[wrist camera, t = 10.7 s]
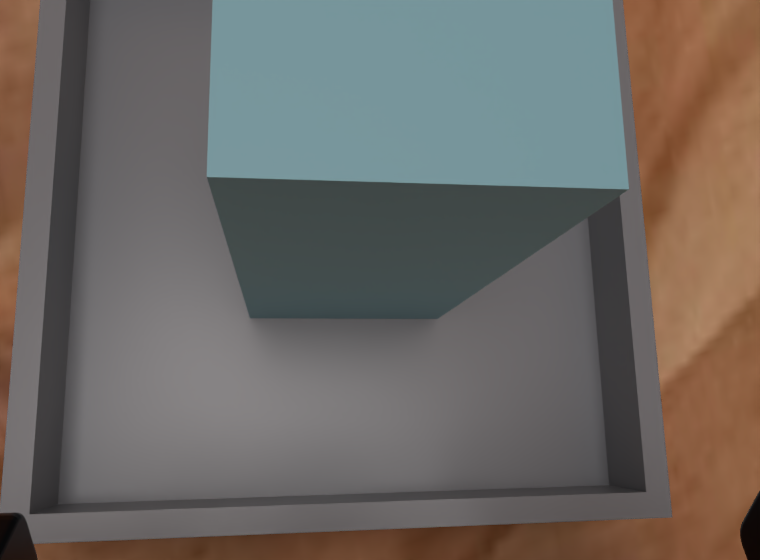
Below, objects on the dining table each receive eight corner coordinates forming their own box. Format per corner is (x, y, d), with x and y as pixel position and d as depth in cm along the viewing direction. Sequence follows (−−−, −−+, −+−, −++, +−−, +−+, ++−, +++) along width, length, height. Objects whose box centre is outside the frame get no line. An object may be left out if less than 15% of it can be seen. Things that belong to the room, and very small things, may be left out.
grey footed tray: (588, 497, 22) (672, 517, 17) (64, 516, 20) (-3, 545, 15) (554, 40, 25) (617, -49, 20) (95, 15, 23) (47, -90, 18)
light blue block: (437, 319, 19) (628, 189, 9) (249, 318, 19) (207, 177, 8) (432, 144, 20) (598, -166, 10) (253, 138, 20) (219, -203, 9)
